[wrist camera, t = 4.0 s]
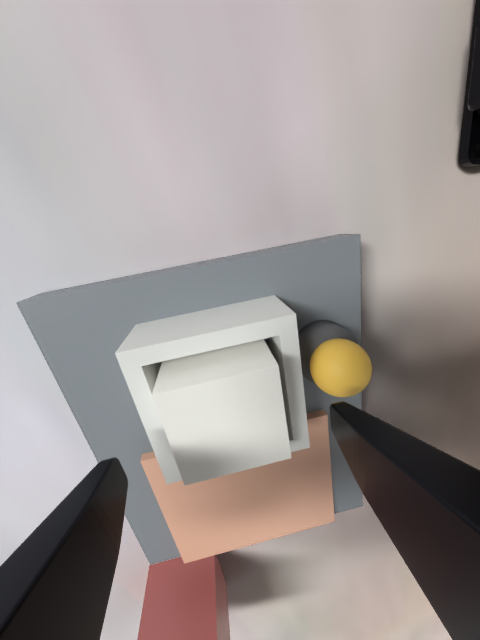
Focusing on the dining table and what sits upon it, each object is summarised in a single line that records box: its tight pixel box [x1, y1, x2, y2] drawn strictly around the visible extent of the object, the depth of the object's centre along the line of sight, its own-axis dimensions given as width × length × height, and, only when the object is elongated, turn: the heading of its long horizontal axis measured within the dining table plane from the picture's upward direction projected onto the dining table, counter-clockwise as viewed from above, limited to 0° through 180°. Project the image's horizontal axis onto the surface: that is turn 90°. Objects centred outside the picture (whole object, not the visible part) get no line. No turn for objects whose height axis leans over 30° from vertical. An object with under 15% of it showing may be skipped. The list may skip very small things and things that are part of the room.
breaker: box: [152, 339, 292, 486], centre depth 9 cm, size 4×4×3 cm
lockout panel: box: [17, 234, 372, 565], centre depth 12 cm, size 13×16×4 cm
